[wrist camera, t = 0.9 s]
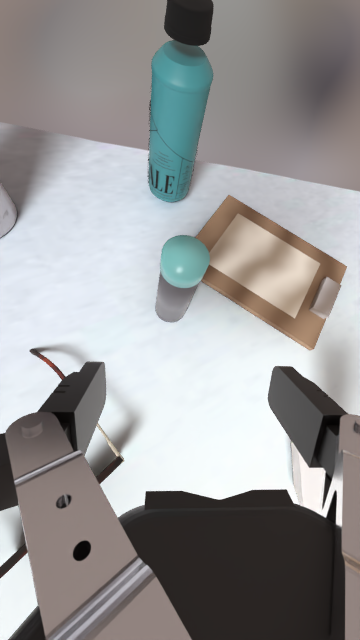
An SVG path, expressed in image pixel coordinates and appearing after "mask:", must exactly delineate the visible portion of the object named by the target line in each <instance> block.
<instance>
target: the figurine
mask: <svg viewBox="0 0 360 640" xmlns="http://www.w3.org/2000/svg"><path fill="white" fill-rule="evenodd" d="M291 453H292V467H293V481H294V488H295V491H296V494H297V497H298V500H299V503H300V506H303V507H306V508H308V509H310V510H312V511H315V512H317V513H318V514H319V511H320V502H321V492H322V483H323V477H324V473H325V470H324V468H309V467H308V465H307V464H306V462H305V461H304V459H303V457H302V456H301V454H300V453H299V451H298V450H297V448H296V447H295V445H294V444H293V442H291Z"/></svg>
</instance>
